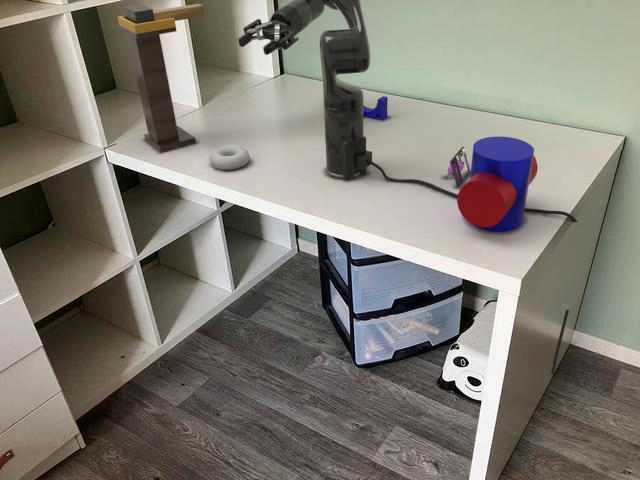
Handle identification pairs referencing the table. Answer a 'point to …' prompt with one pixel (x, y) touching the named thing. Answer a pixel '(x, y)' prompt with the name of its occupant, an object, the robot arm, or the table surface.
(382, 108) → the blue curved block
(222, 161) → the donut
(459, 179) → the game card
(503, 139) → the blue red crossed cylinders
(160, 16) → the toy hammer
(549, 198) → the table surface
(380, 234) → the table surface
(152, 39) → the walnut stand
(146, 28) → the mustard tray
